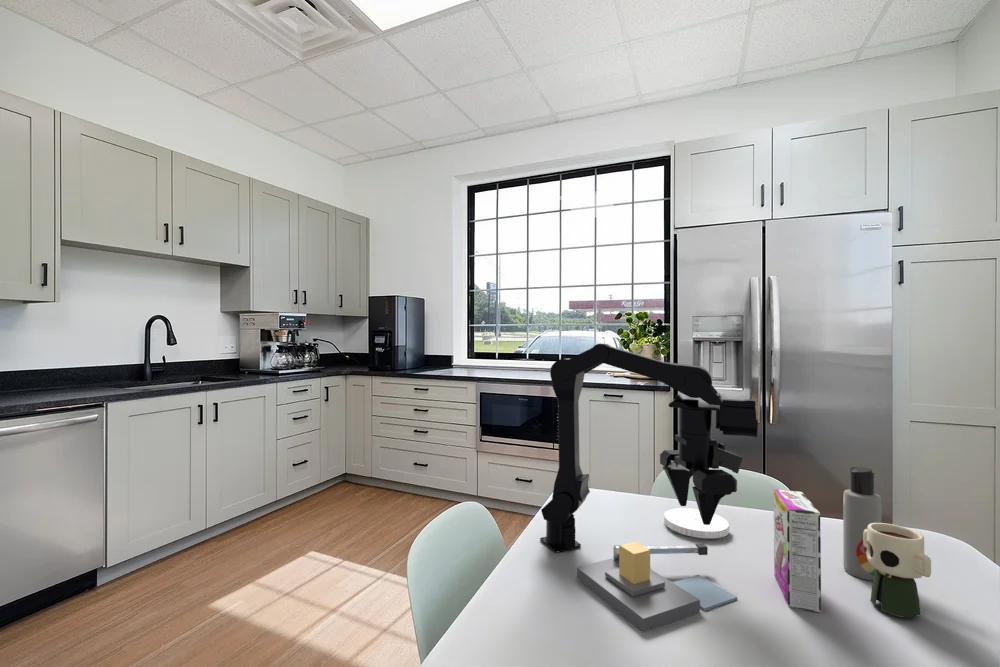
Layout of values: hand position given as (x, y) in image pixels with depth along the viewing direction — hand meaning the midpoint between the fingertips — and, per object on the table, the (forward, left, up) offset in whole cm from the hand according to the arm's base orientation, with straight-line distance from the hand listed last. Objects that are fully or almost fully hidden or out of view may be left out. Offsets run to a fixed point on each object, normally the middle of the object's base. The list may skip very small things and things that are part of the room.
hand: (694, 514), depth 86 cm
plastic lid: (-14, +17, -12) cm, 25 cm away
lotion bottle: (+14, +29, -11) cm, 34 cm away
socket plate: (+1, -16, -11) cm, 19 cm away
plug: (+1, -16, -11) cm, 19 cm away
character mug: (+23, +20, -11) cm, 32 cm away
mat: (+6, -5, -11) cm, 13 cm away
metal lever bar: (-3, -5, -9) cm, 11 cm away
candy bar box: (+13, +10, -11) cm, 20 cm away
